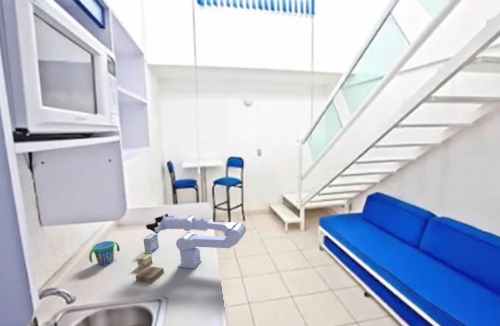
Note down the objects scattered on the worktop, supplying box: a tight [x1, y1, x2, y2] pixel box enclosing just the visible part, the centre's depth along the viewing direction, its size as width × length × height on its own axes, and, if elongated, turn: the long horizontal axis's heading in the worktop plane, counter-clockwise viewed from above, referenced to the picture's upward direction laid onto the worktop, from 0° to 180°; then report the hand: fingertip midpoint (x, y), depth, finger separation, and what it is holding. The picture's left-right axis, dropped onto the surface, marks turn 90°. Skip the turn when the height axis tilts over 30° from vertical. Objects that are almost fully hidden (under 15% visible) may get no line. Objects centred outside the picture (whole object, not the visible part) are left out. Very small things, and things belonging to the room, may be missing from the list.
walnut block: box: [135, 265, 165, 284], centre depth 138 cm, size 9×9×3 cm
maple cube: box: [136, 253, 153, 269], centre depth 149 cm, size 5×5×5 cm
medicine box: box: [143, 233, 160, 254], centre depth 166 cm, size 8×4×9 cm, turn 168°
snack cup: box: [88, 240, 120, 266], centre depth 154 cm, size 16×10×10 cm
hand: (151, 223), depth 151 cm, fingers open, 7 cm apart
